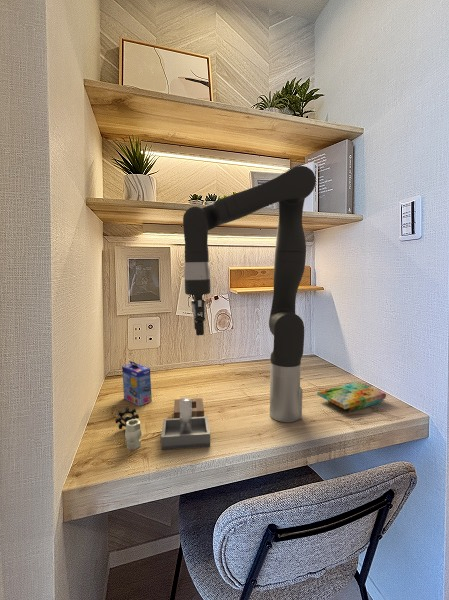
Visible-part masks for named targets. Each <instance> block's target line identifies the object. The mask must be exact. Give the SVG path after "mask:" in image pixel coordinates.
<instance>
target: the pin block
mask: <svg viewBox="0 0 449 600" xmlns="http://www.w3.org/2000/svg"><path fill="white" fill-rule="evenodd" d="M180 399H181V398H180ZM180 399H178V398H177V399H174V403H173V404H174V405H173V419H174V418H180ZM191 399H192V417H205V407H204V401H203V398H201V397H198V398H191Z"/></svg>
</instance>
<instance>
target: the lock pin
mask: <svg viewBox="0 0 449 600" xmlns="http://www.w3.org/2000/svg"><path fill="white" fill-rule="evenodd" d="M192 399H193V398H190V397H181V398H180V434H192Z"/></svg>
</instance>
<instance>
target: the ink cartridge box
mask: <svg viewBox="0 0 449 600" xmlns="http://www.w3.org/2000/svg"><path fill="white" fill-rule="evenodd" d="M128 361H129V364H125V365H122V367H121V368H122V387H123V388H122V390H123V391H122V392H123V399H124V400H126V401H128V402H130V403H132V404H134V405H136V406H138V407H141V406H143V405H145V404H149V403H152V401H153V398H152V397H153V396H152V395H153V394H152V380H151V379H152V377H151V368H150V367H148V366H144V365H141V364H139V363H136V362H135V361H132V360H128Z"/></svg>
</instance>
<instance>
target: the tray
mask: <svg viewBox="0 0 449 600" xmlns="http://www.w3.org/2000/svg"><path fill="white" fill-rule="evenodd" d="M210 431H211V430H210V425H209V416H205V415H204V417H192V434H180V418H174V417H173V418H163V421H162V427H161V433H160V434H161V435H160V449H161V451H169V450H171V451H172V450H184V449H197V448H198V449H199V448H208V447H209V448H210V447H211V432H210Z"/></svg>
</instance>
